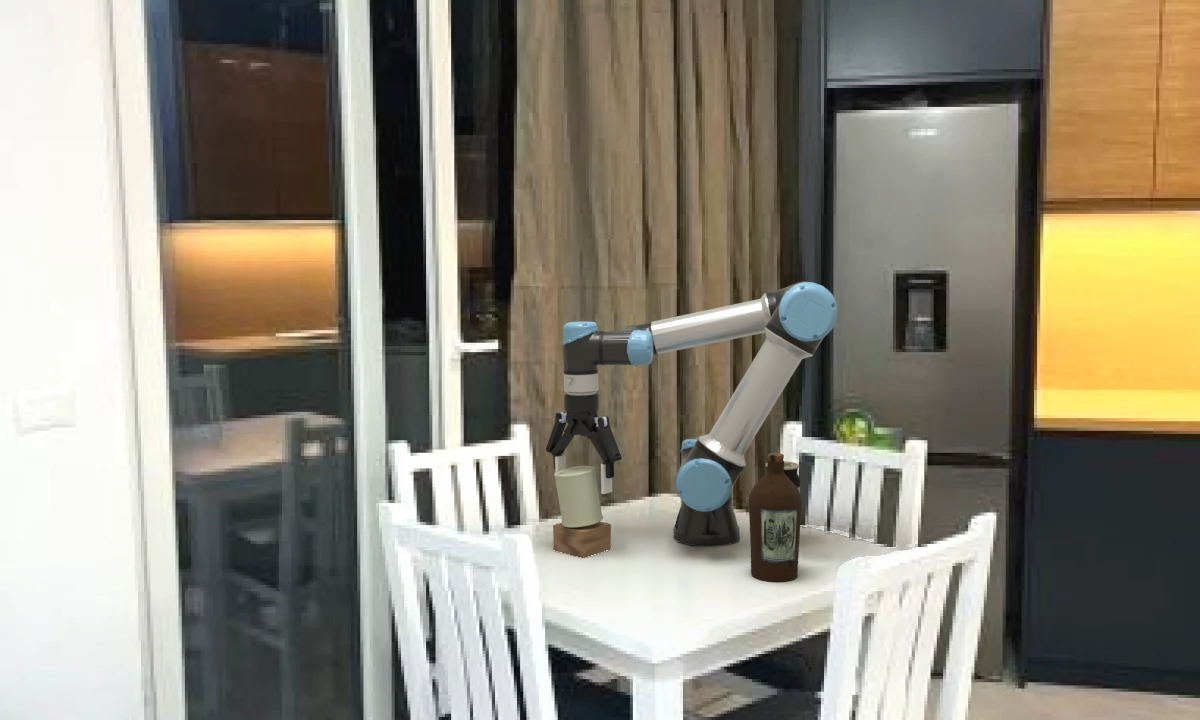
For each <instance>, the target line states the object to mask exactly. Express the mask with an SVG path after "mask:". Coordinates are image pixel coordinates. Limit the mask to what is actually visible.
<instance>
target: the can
mask: <svg viewBox="0 0 1200 720" xmlns="http://www.w3.org/2000/svg"><path fill="white" fill-rule="evenodd" d="M554 479H555V486H556V490H557V498H558V503H559V509H560V516H561V517H560V518H561V523H562V526H564V527H571V528H573V527H584V526H589V525H593V524H596V523H598V522H602V520H603V519H604V516H603V513H602V507H601V501H600V494H599V489H598V482H597V481H598V480H597V473H596V467H595V466H593V465H577V466H571V467H566V469H562V470H559V471H557V472H554Z"/></svg>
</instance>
